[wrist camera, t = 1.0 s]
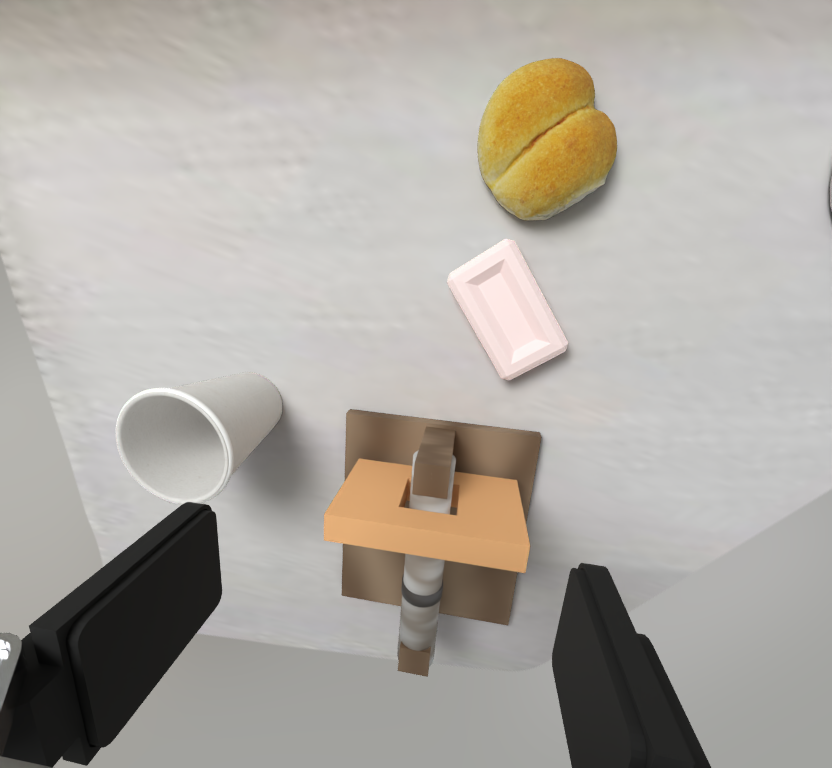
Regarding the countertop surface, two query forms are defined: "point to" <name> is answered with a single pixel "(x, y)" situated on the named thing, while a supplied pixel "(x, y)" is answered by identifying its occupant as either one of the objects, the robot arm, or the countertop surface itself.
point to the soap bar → (507, 310)
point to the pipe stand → (432, 491)
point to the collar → (431, 518)
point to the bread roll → (544, 140)
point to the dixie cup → (195, 434)
